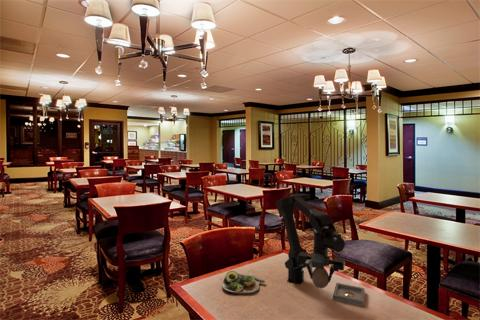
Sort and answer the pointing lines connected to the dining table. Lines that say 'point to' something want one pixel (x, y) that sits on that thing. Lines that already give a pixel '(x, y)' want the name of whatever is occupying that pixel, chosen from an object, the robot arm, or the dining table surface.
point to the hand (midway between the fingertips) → (320, 280)
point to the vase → (320, 277)
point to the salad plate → (240, 283)
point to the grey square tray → (349, 294)
